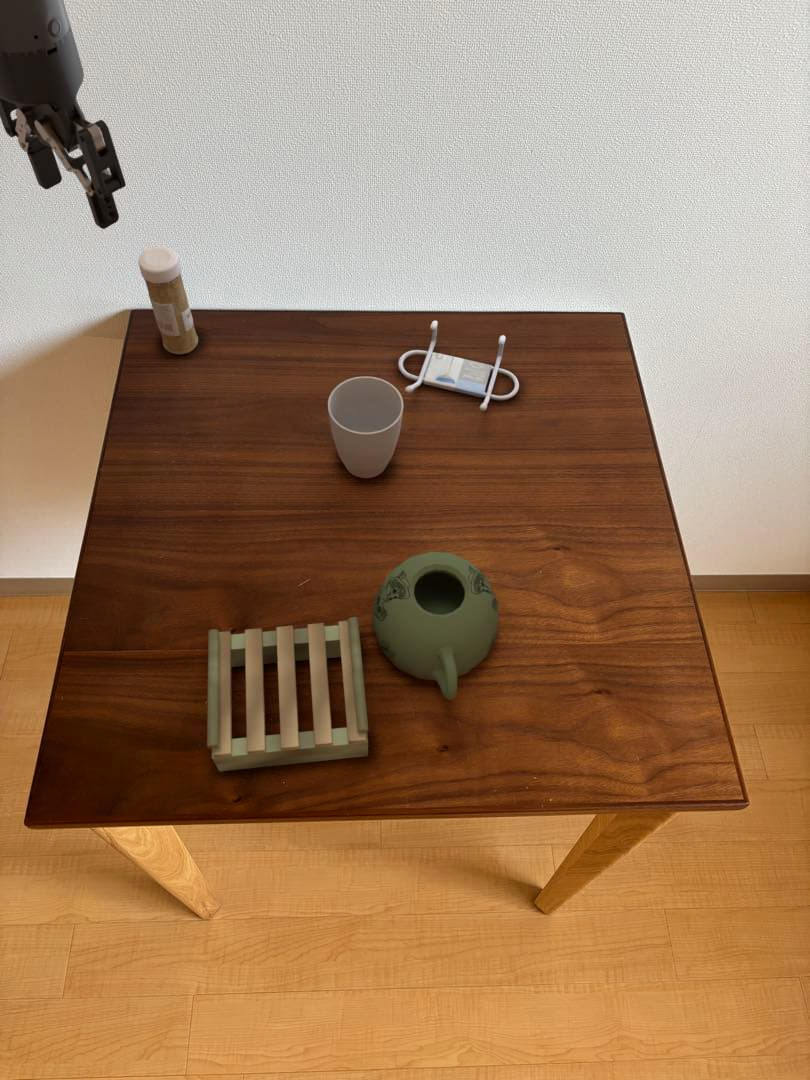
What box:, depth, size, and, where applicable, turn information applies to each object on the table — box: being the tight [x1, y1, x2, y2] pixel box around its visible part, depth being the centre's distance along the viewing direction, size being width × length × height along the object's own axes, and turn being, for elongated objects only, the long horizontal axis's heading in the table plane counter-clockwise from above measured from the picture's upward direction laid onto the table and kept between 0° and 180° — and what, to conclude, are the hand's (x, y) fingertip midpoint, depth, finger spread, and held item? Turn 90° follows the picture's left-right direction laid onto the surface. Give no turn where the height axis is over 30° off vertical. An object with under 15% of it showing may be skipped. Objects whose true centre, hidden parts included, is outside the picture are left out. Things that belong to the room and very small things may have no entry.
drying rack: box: [206, 616, 369, 772], centre depth 77 cm, size 14×12×6 cm
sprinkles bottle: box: [137, 245, 199, 355], centre depth 99 cm, size 5×5×13 cm
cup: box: [327, 375, 404, 479], centre depth 92 cm, size 8×8×10 cm
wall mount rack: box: [397, 320, 520, 412], centre depth 100 cm, size 16×14×6 cm
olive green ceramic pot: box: [371, 551, 499, 701], centre depth 80 cm, size 16×13×9 cm
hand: (79, 203), depth 78 cm, fingers open, 8 cm apart
